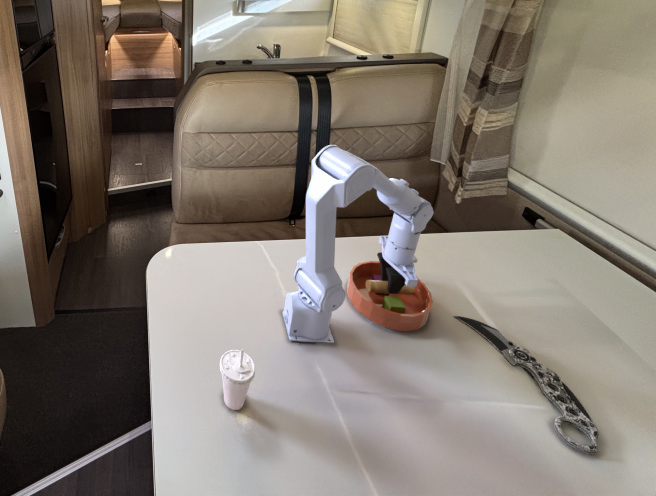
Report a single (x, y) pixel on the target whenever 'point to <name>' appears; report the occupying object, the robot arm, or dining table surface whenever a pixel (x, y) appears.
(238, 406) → the smoothie
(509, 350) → the knife
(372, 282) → the stick
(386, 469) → the dining table surface
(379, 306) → the bowl
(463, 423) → the dining table surface
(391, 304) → the chunk
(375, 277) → the chunk
